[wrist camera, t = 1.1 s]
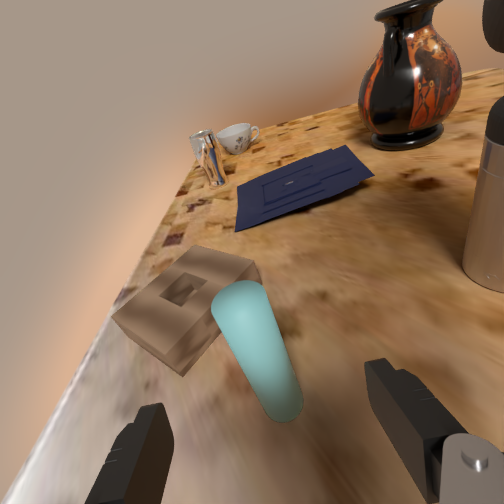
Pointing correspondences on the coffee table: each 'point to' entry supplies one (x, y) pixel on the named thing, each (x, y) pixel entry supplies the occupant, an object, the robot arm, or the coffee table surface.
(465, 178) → the coffee table surface
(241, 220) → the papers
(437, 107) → the amphora vase
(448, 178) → the coffee table surface
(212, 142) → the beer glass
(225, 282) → the walnut block
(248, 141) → the teacup
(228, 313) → the teal pin
